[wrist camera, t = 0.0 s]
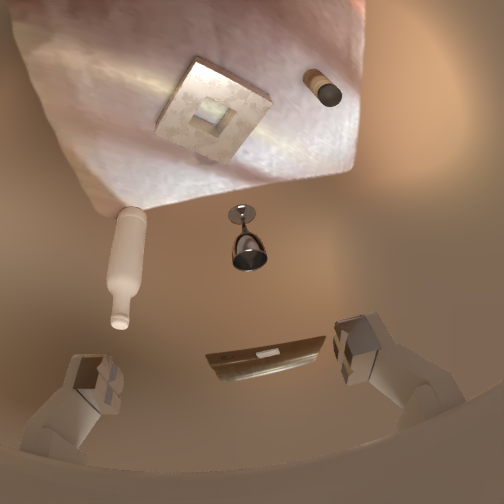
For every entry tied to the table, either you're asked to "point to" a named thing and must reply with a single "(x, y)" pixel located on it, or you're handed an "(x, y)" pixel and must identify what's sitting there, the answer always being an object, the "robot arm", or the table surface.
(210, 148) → the housing
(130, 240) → the bottle
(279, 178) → the table surface
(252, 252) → the wine glass
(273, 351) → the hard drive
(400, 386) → the robot arm
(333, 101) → the plug
